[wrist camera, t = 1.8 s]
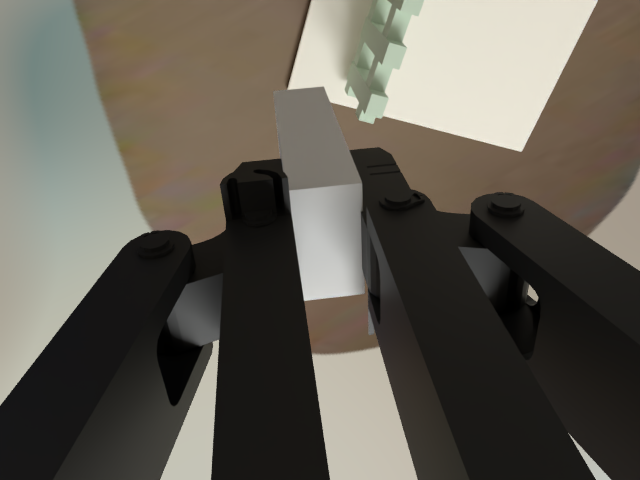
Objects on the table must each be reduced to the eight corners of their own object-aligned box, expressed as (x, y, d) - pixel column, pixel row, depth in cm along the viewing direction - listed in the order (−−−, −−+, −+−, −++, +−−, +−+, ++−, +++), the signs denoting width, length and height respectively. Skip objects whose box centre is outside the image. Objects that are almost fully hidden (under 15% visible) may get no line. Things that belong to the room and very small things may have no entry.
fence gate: (401, -96, 32) (435, -93, 26) (417, -90, 32) (455, -86, 27) (343, 88, 38) (360, 126, 32) (357, 92, 38) (377, 130, 32)
